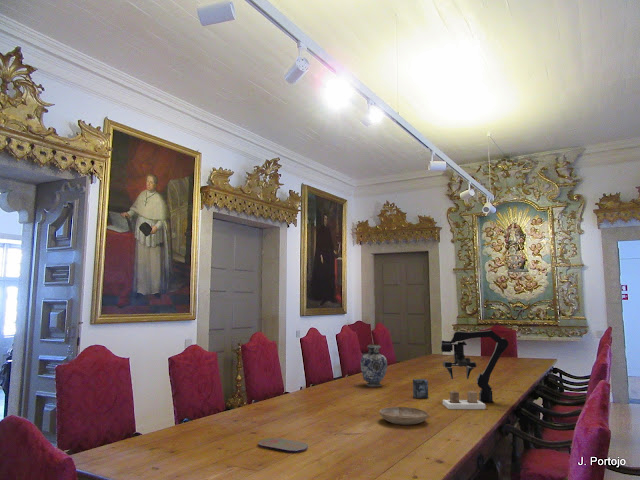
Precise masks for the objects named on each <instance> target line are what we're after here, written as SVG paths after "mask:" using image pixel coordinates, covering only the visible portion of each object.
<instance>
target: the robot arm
mask: <svg viewBox="0 0 640 480" xmlns="http://www.w3.org/2000/svg"><path fill="white" fill-rule="evenodd" d="M452 336H453V337H452V339H450V340H441V345H440V346H441V349H440V351H441V353H451V352H452V351H453V362H451V361H443V362H442V367H444V368H445V369H447V372H448V373H449V376H450V379H451V380H453V378H454V375H453V367H466V380H469V377H470V374H471V372H472V370H474V369H475V368H477V363H476V362H475V361H471V358H470V357H465V356H466V355H465V347H464V346H467V345H468V344H467V343H466V342H465V340H466V341H467V340H469V339H481V338H490V339H492V340H494V342H496V343H495V347H494V351H493V353H492V355H491V357H490V358H489V361H488V363H487V364H486V366H485V368H484V370H483V372H482V373H481V372H479V373H478V375H477V377H476V385H477V387H479V388H480V390H479V392H478V398H479V399H478V400H479V401H481V402H482V403H494V400H493V399H494V398H493V390H492V389H493V388H492V387H491V385H490V384H489V383H490V378H491V374H492V372H493V371H494V369H495V366H496V365H497V363H498V361H499V359H500V357H501V355H502V354H503V353H504V352H505V351H506V349H507V348H508V346H509V341H508V339H506V338H504V337H500V336H499V335H498V334H497V333H495V332H494V330H492V329H489V330H482V331H481V330H479V331H462V330H461V331H459V330H457V331H455V332H454V333H453V335H452Z"/></svg>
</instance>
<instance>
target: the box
mask: <svg viewBox="0 0 640 480" xmlns="http://www.w3.org/2000/svg"><path fill="white" fill-rule="evenodd" d="M412 396H413V398H415V399H429V380H428V379H425V378H413V379H412Z"/></svg>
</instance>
